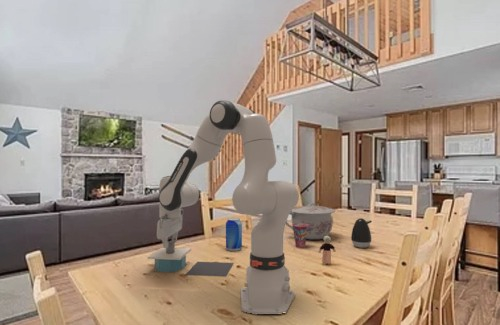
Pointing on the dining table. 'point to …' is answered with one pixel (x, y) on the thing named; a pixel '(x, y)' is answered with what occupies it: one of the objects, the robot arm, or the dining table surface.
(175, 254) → the cover board
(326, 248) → the grandmother figurine
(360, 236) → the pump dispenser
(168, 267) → the bowl
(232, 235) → the beer can
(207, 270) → the mat
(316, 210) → the chamber pot
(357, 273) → the dining table surface
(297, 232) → the cup
